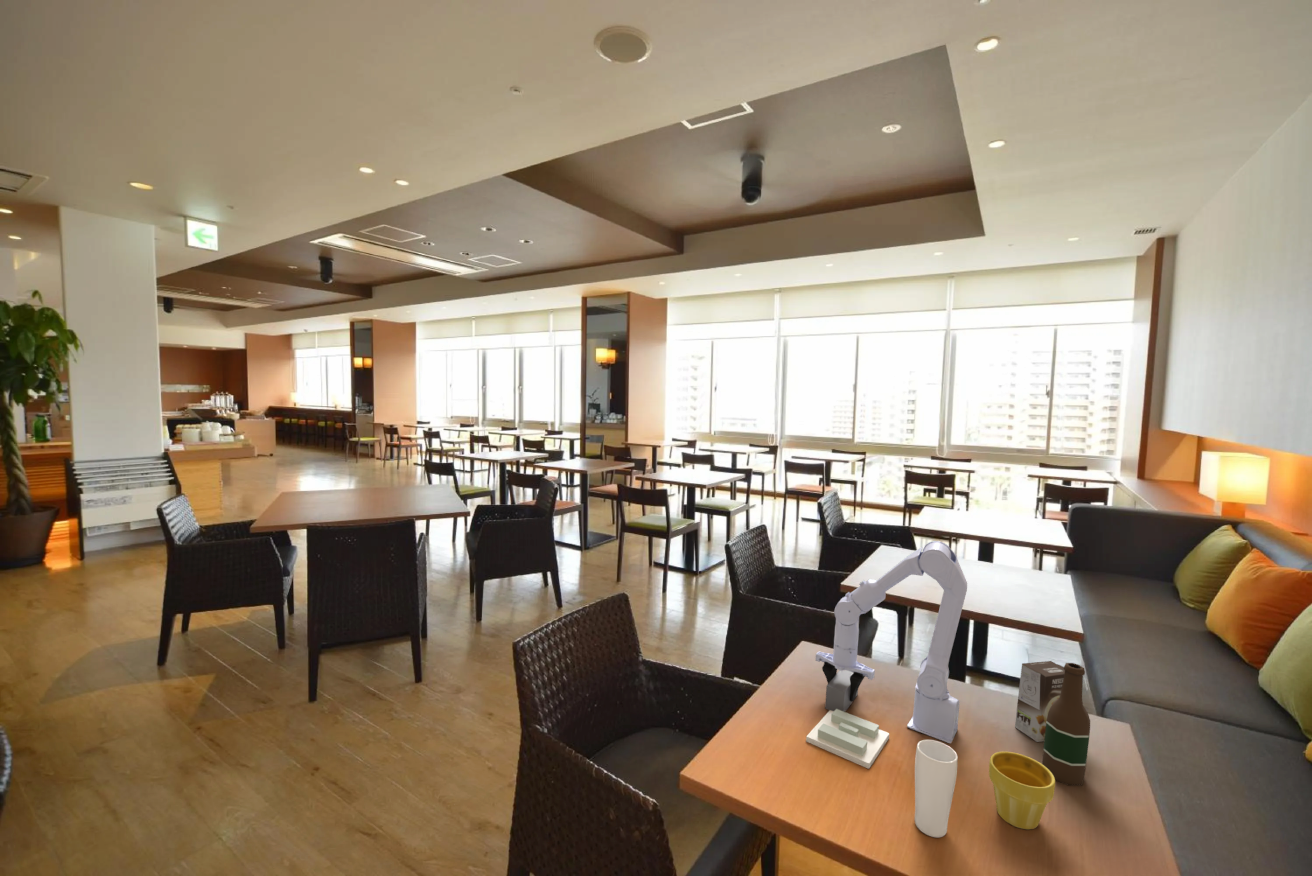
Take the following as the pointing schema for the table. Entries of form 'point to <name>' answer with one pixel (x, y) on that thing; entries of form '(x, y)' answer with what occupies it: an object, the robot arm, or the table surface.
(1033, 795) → the plant pot
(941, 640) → the robot arm
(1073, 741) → the beer bottle
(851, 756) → the stand
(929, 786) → the drinking glass
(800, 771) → the table surface
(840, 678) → the grey upright block
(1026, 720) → the coffee box
